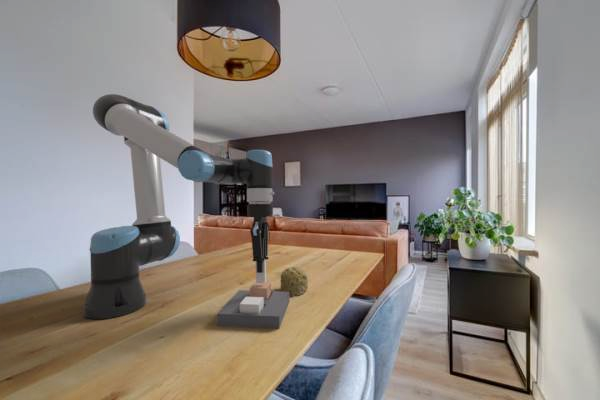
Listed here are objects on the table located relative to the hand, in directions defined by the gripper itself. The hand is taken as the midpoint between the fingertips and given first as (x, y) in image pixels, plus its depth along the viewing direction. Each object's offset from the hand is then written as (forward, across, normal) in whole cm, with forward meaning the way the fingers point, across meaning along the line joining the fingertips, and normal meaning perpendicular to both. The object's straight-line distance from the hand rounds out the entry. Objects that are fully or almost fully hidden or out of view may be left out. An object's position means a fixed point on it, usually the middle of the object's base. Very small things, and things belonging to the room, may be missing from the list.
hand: (261, 282), depth 79 cm
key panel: (+7, -4, 0) cm, 8 cm away
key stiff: (+4, 0, 0) cm, 4 cm away
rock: (+7, +14, -8) cm, 17 cm away
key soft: (+5, -9, 0) cm, 11 cm away
